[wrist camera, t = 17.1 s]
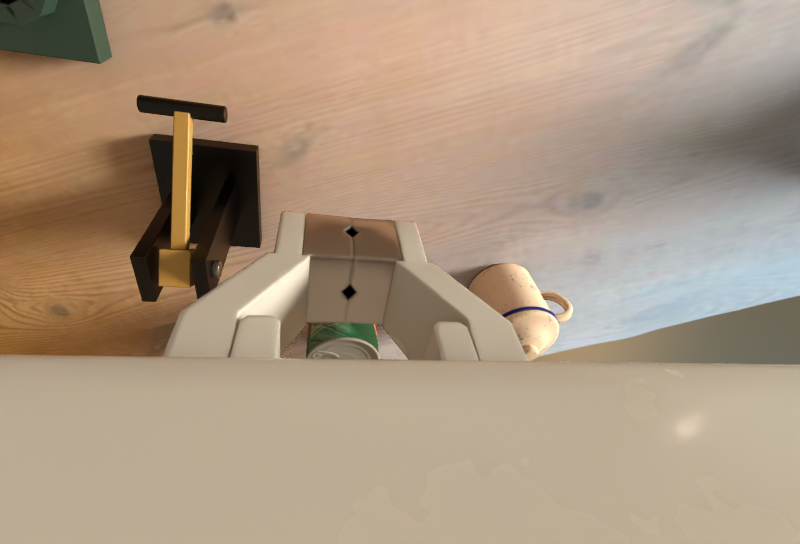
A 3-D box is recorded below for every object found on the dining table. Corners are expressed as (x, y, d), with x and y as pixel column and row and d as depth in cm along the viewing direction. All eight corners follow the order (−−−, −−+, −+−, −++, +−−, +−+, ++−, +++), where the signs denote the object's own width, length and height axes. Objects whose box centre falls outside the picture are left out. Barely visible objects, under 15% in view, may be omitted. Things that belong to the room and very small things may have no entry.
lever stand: (153, 133, 37) (83, 214, 27) (258, 145, 39) (230, 225, 29) (173, 234, 44) (123, 330, 33) (261, 240, 46) (240, 333, 35)
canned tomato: (384, 285, 52) (394, 353, 44) (353, 323, 56) (356, 393, 48) (328, 261, 49) (327, 330, 40) (298, 303, 52) (292, 375, 44)
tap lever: (146, 99, 32) (132, 90, 29) (229, 110, 33) (222, 102, 30) (143, 280, 33) (130, 284, 31) (222, 284, 34) (216, 288, 32)
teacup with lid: (465, 316, 58) (489, 386, 49) (465, 266, 52) (492, 336, 43) (548, 302, 58) (587, 369, 49) (557, 251, 52) (604, 317, 43)
